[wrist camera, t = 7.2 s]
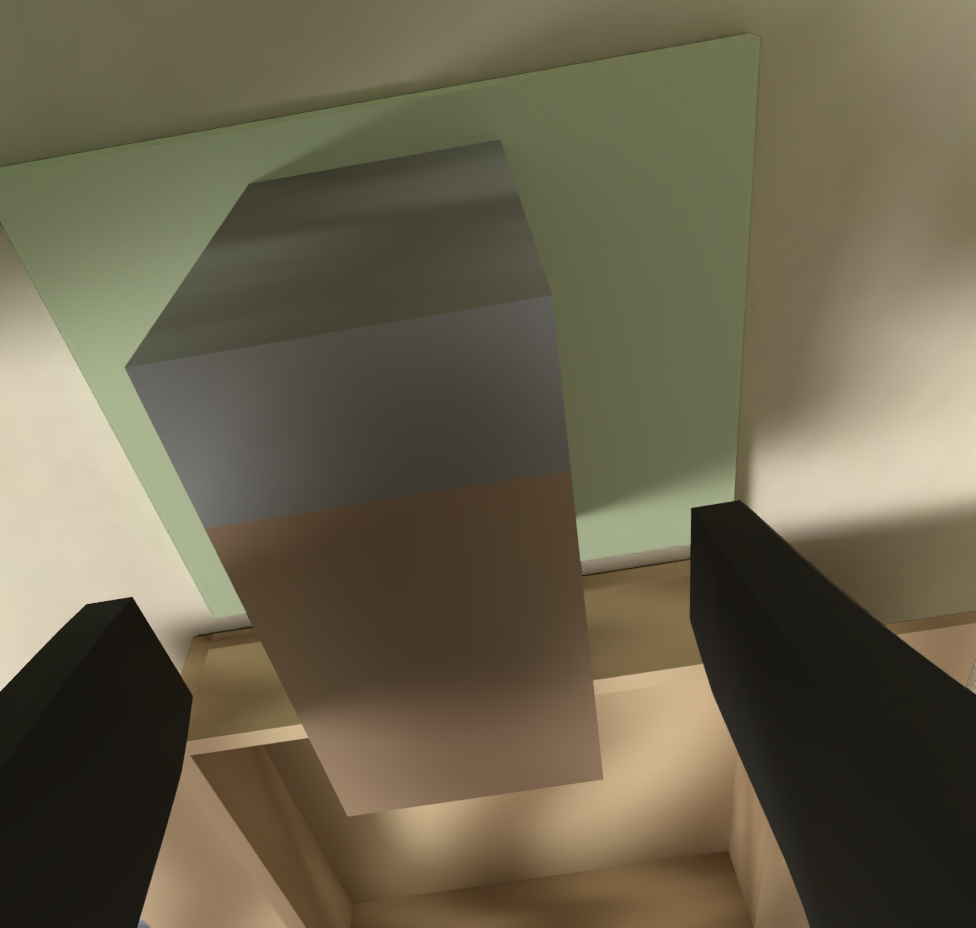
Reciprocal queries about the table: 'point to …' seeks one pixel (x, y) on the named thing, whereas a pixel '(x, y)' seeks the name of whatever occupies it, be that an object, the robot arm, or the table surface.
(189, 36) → the table surface
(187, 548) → the olive mat
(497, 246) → the brown rectangular block
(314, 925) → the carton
